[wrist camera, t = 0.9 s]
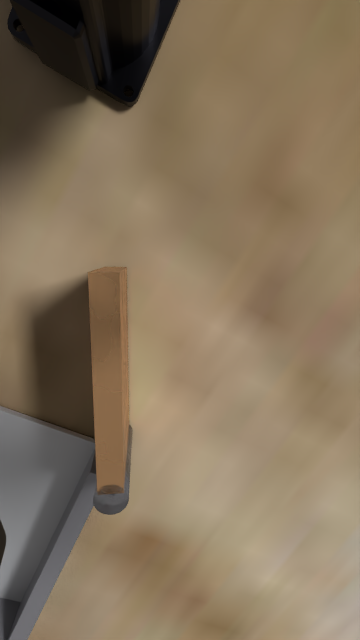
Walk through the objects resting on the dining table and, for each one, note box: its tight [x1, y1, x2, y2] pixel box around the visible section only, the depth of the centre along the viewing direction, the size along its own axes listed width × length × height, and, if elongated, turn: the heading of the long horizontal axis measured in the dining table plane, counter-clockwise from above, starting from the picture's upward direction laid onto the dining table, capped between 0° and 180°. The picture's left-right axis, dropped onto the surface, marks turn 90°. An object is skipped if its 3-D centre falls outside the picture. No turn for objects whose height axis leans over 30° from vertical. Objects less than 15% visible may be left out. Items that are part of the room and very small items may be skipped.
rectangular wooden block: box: [88, 267, 132, 515], centre depth 16 cm, size 11×2×6 cm, turn 179°
